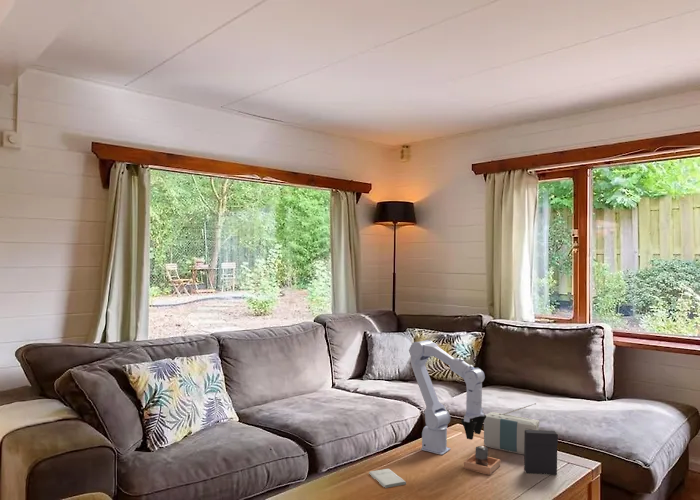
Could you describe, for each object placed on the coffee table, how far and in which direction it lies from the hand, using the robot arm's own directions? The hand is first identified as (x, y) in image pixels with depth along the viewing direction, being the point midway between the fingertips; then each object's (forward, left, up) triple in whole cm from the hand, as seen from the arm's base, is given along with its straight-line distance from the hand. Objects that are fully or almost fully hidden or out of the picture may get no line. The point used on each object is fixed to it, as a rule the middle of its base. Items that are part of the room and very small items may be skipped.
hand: (473, 436), depth 209 cm
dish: (+5, -4, -9) cm, 11 cm away
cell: (+5, -4, -9) cm, 11 cm away
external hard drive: (-18, -34, -10) cm, 40 cm away
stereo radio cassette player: (+8, +20, -10) cm, 24 cm away
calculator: (+24, +4, -10) cm, 26 cm away
